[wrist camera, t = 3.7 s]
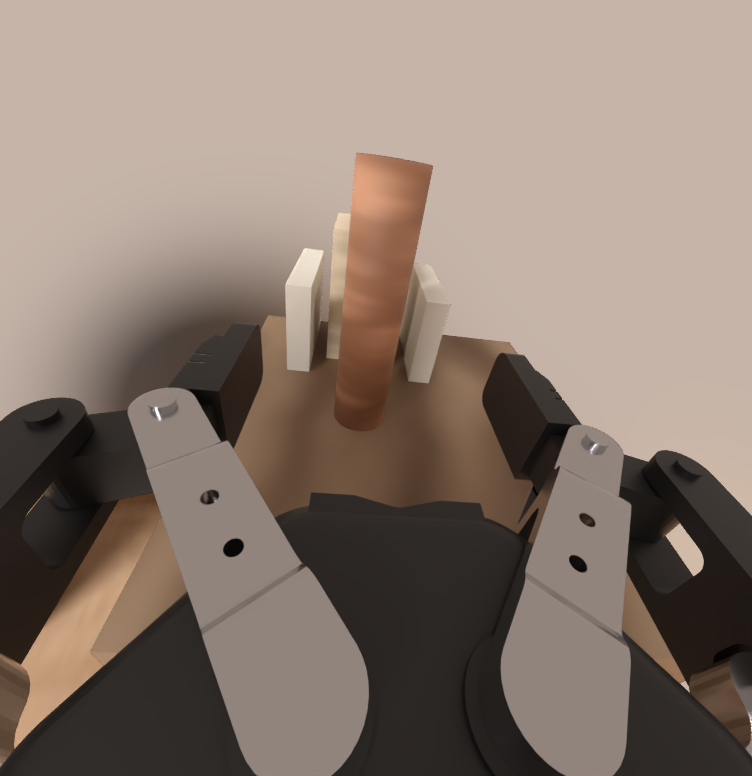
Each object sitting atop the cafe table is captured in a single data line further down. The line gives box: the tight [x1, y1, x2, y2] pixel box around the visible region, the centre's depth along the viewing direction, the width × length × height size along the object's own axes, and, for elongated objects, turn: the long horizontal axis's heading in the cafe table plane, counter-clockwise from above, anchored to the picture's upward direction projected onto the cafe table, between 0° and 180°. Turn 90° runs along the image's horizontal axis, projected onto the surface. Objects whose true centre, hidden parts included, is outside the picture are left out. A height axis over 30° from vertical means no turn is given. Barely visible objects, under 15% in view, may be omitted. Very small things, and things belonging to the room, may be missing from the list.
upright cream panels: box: [285, 248, 451, 383], centre depth 25 cm, size 10×8×6 cm
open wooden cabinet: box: [90, 315, 686, 683], centre depth 28 cm, size 22×24×24 cm
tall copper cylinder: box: [326, 153, 433, 431], centre depth 21 cm, size 5×12×13 cm, turn 1°
